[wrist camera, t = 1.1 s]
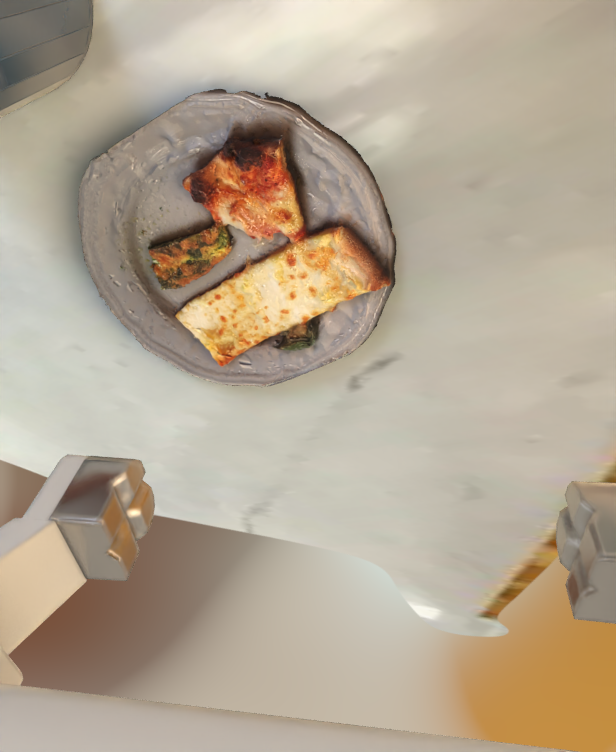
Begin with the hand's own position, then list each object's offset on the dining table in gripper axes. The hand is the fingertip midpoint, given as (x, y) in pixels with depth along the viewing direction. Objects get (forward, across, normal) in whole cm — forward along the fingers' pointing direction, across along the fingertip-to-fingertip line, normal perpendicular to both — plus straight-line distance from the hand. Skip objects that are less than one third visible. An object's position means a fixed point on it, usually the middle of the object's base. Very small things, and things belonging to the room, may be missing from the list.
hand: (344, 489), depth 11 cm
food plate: (+35, +12, +12) cm, 38 cm away
